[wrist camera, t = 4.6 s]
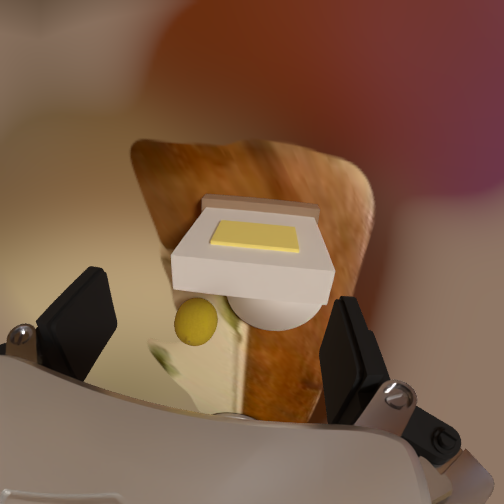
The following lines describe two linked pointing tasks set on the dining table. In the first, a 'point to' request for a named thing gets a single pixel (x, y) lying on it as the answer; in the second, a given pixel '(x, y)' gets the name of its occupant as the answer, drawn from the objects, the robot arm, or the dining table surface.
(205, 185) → the dining table surface
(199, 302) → the lemon
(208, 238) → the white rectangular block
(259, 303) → the white round disc
